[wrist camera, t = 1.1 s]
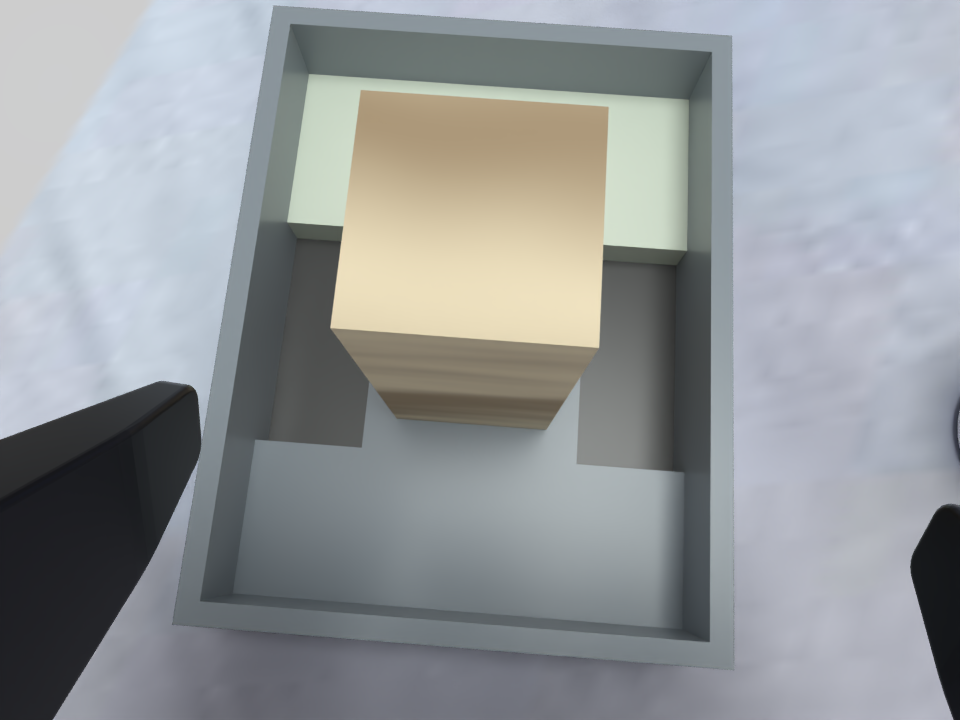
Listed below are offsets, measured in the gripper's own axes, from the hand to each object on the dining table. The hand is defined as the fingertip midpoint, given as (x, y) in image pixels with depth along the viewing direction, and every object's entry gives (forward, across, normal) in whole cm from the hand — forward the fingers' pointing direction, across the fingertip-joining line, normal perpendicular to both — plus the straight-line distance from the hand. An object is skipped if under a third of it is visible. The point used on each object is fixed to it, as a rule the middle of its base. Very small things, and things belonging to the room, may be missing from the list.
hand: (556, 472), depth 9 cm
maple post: (+13, +2, +5) cm, 14 cm away
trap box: (+14, +2, +6) cm, 15 cm away
